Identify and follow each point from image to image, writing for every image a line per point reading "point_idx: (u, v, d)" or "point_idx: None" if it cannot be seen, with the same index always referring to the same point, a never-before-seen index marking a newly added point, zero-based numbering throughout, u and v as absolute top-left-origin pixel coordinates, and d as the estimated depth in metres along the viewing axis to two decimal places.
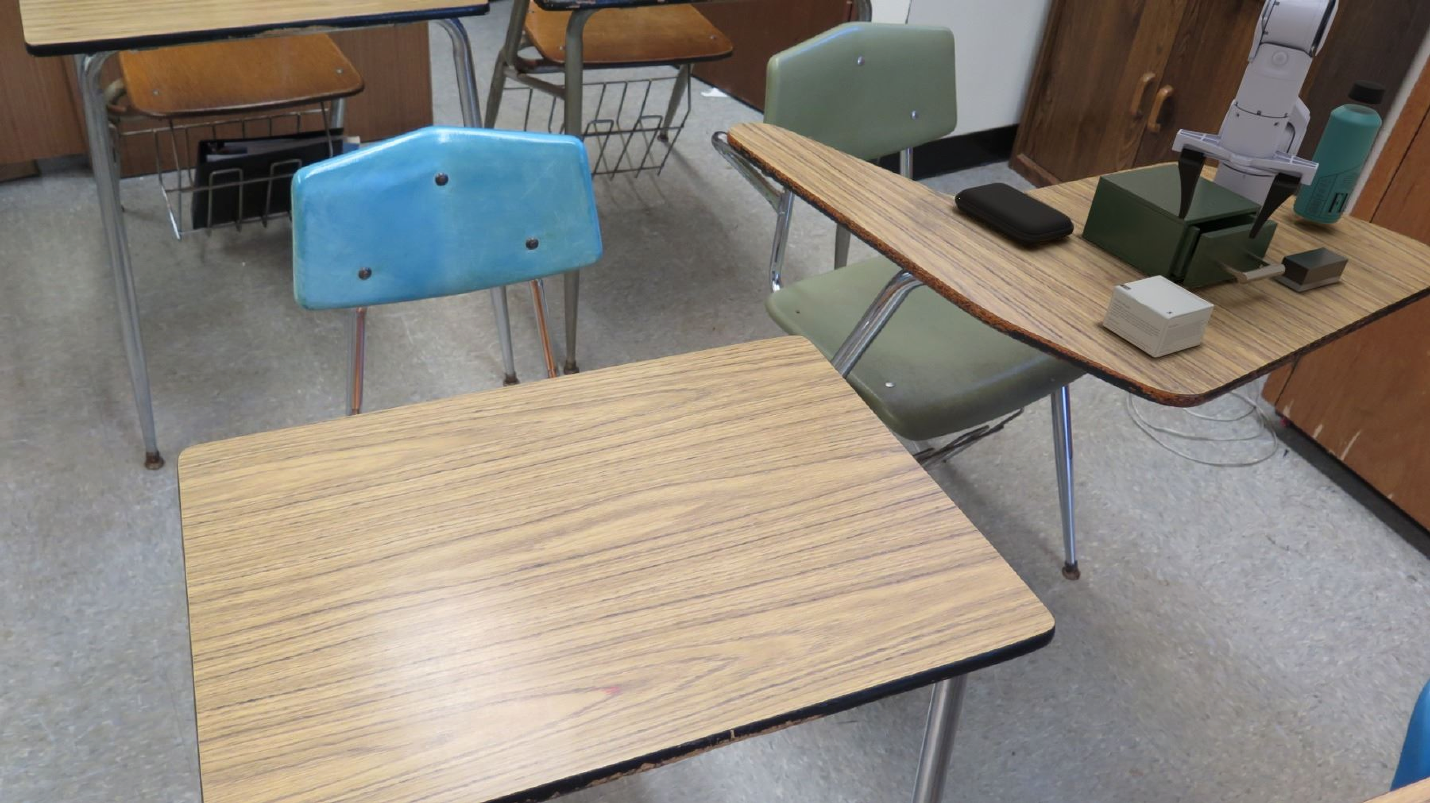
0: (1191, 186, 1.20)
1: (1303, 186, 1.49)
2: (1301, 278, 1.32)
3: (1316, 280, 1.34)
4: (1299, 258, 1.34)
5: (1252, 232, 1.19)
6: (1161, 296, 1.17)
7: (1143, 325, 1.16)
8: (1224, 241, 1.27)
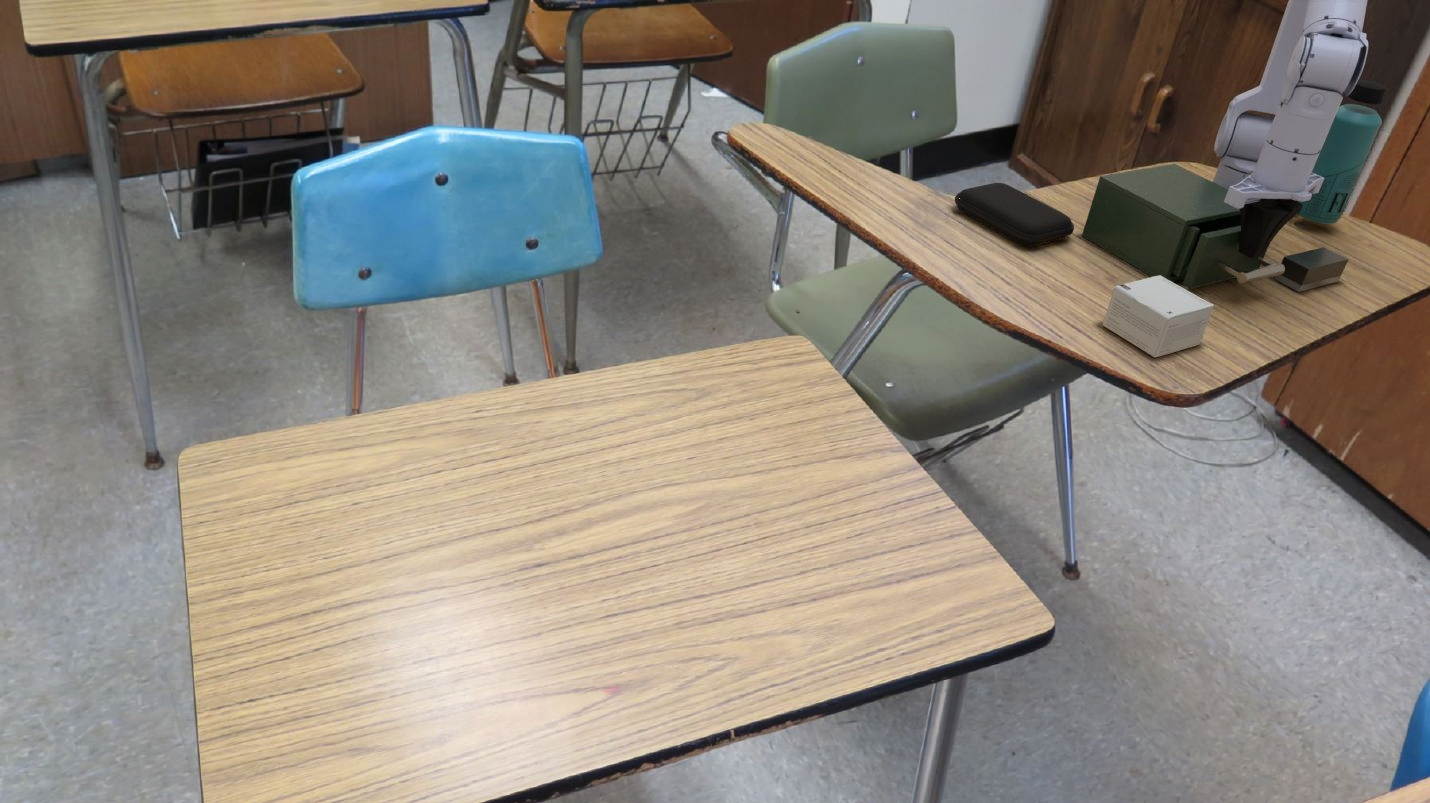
0: (1272, 229, 1.25)
1: None
2: (1301, 278, 1.32)
3: (1316, 280, 1.34)
4: (1299, 258, 1.34)
5: (1260, 252, 1.27)
6: (1161, 296, 1.17)
7: (1143, 325, 1.16)
8: (1224, 241, 1.27)
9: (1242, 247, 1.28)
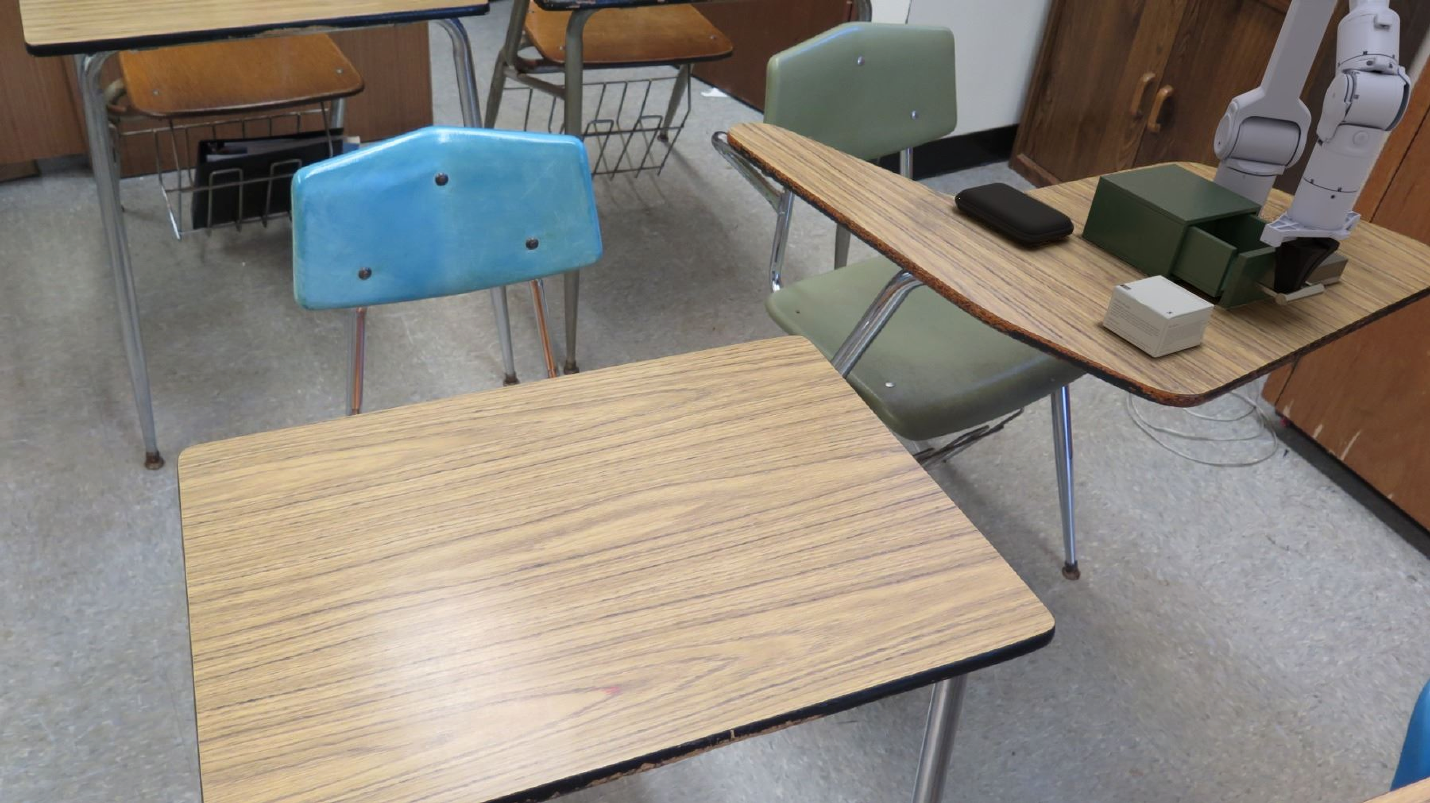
0: (1309, 267, 1.22)
1: None
2: None
3: (1316, 280, 1.34)
4: None
5: None
6: (1161, 296, 1.17)
7: (1143, 325, 1.16)
8: (1262, 261, 1.24)
9: (1277, 285, 1.25)
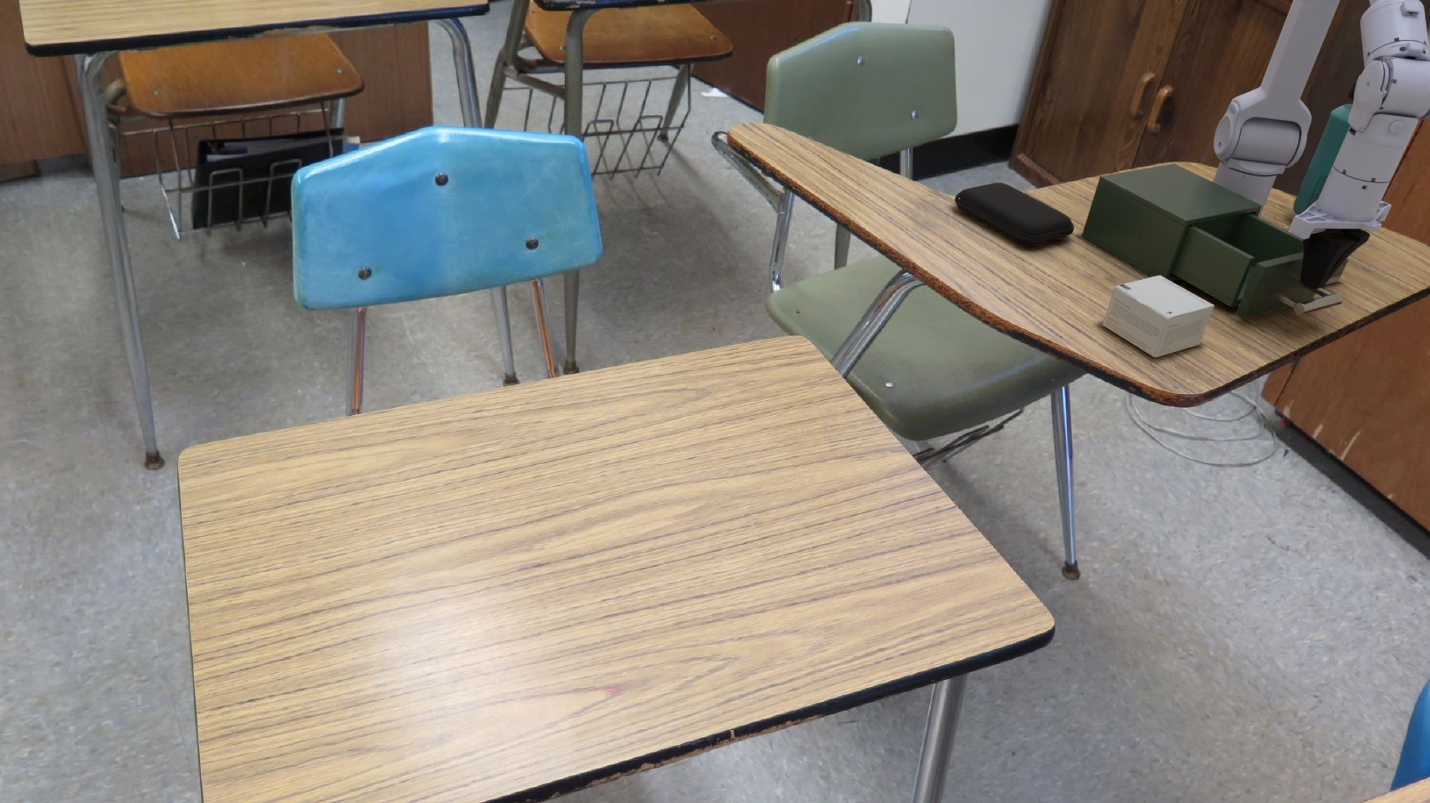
0: (1337, 259, 1.19)
1: (1303, 186, 1.49)
2: None
3: None
4: None
5: (1324, 283, 1.21)
6: (1161, 296, 1.17)
7: (1143, 325, 1.16)
8: (1280, 270, 1.22)
9: (1304, 277, 1.22)
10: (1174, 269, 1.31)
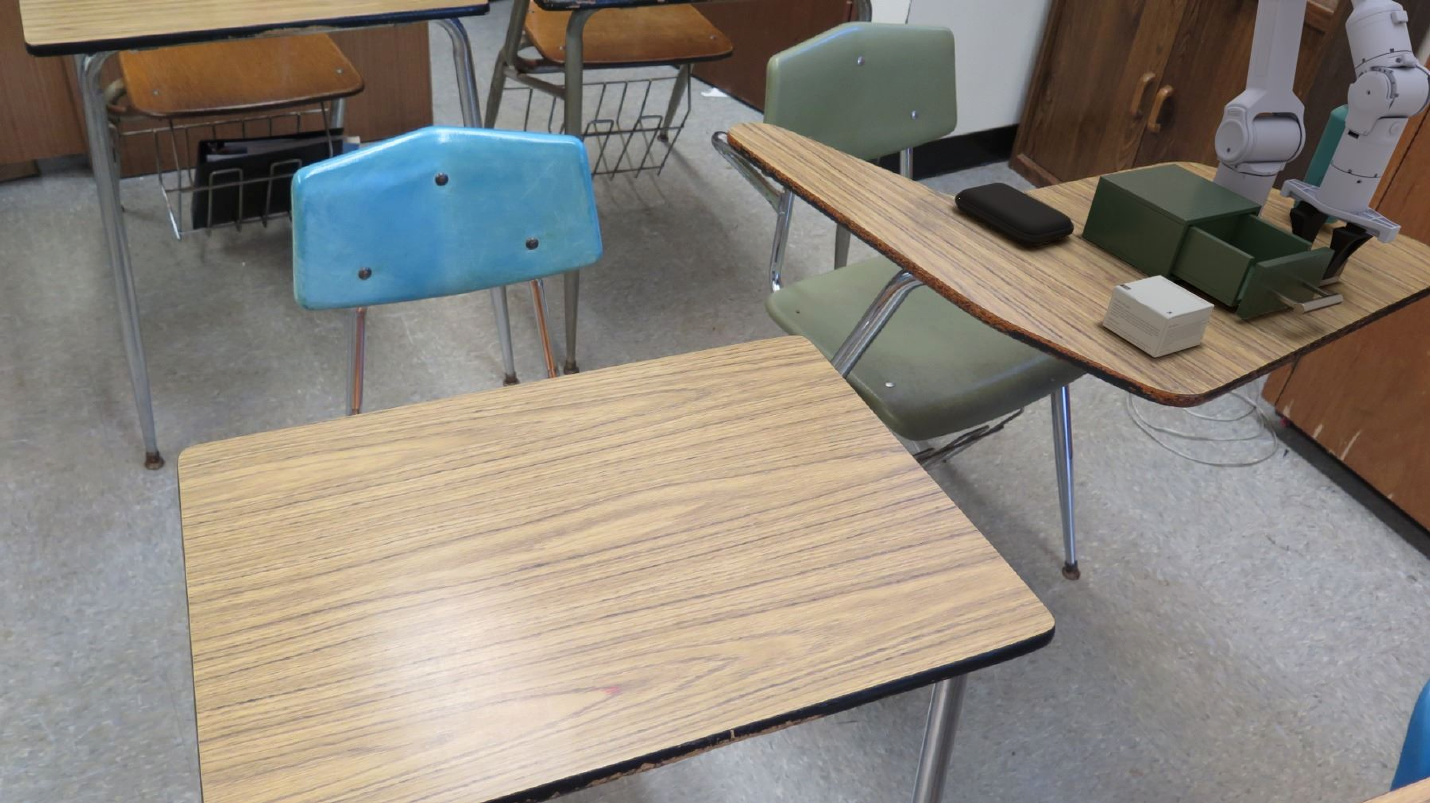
0: None
1: None
2: None
3: None
4: None
5: None
6: (1161, 296, 1.17)
7: (1143, 325, 1.16)
8: (1280, 270, 1.22)
9: (1327, 274, 1.33)
10: (1174, 269, 1.31)
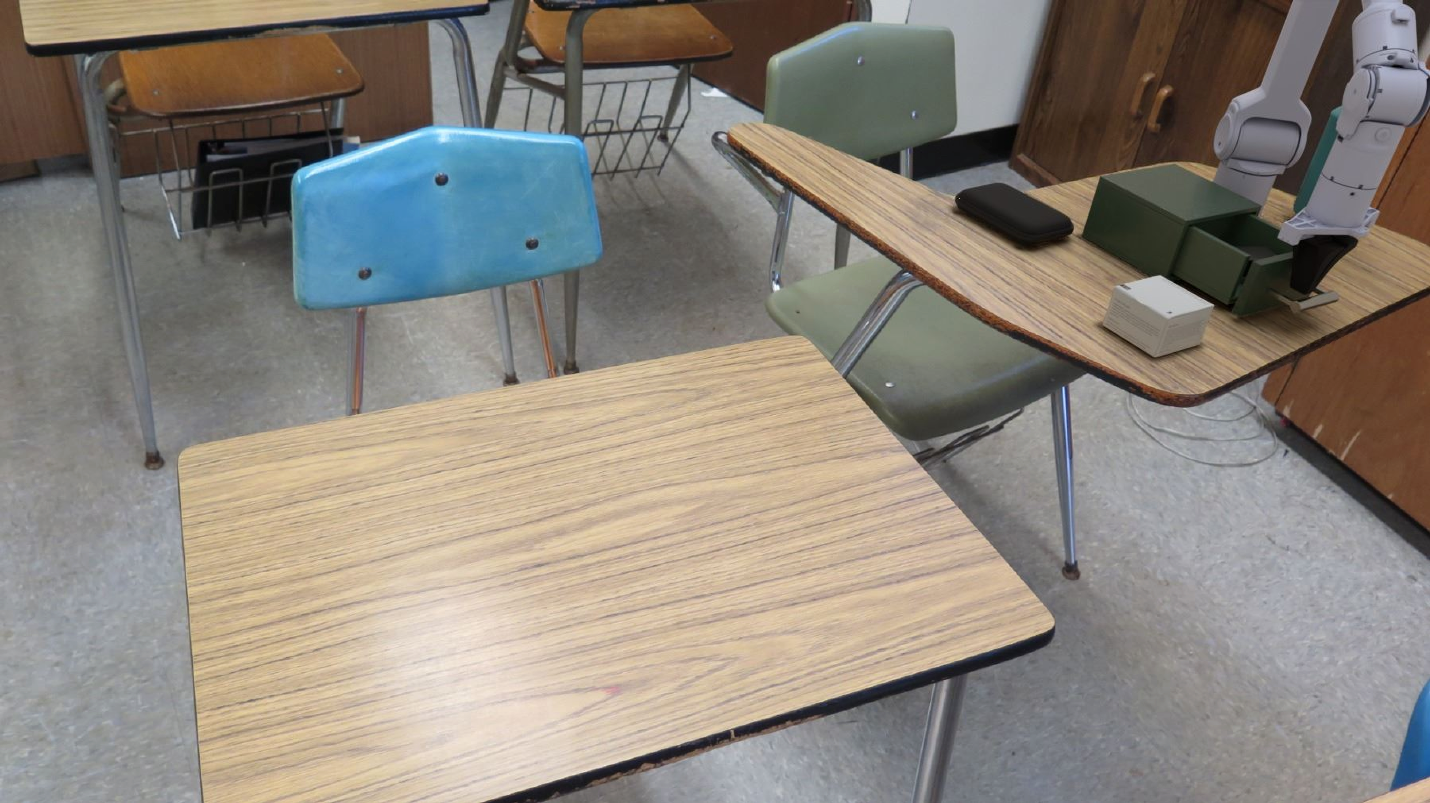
0: (1326, 264, 1.20)
1: (1303, 186, 1.49)
2: None
3: None
4: None
5: (1313, 288, 1.23)
6: (1161, 296, 1.17)
7: (1143, 325, 1.16)
8: (1276, 268, 1.22)
9: (1293, 283, 1.23)
10: None
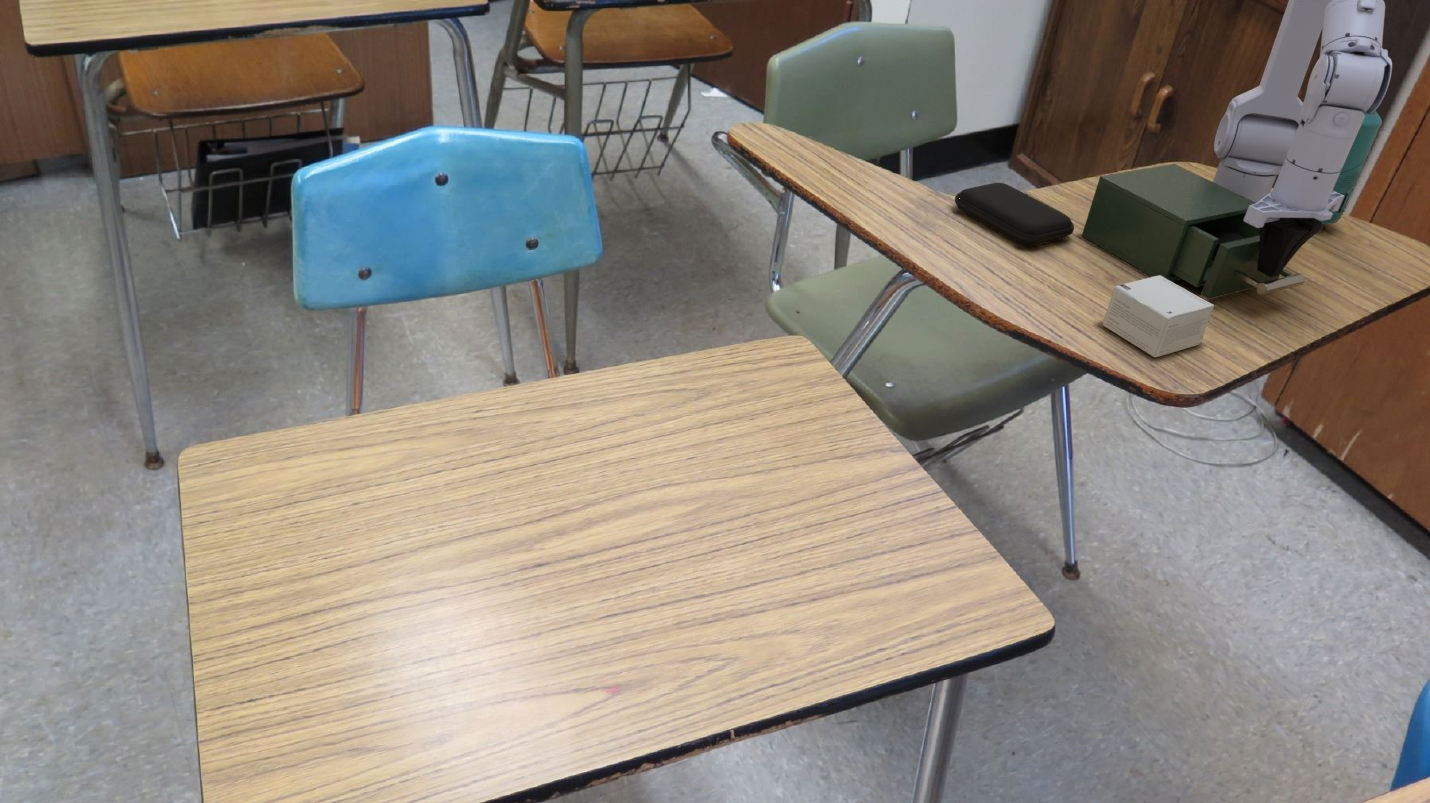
0: (1292, 247, 1.23)
1: None
2: None
3: None
4: None
5: (1279, 271, 1.26)
6: (1161, 296, 1.17)
7: (1143, 325, 1.16)
8: (1243, 251, 1.25)
9: (1261, 265, 1.27)
10: None
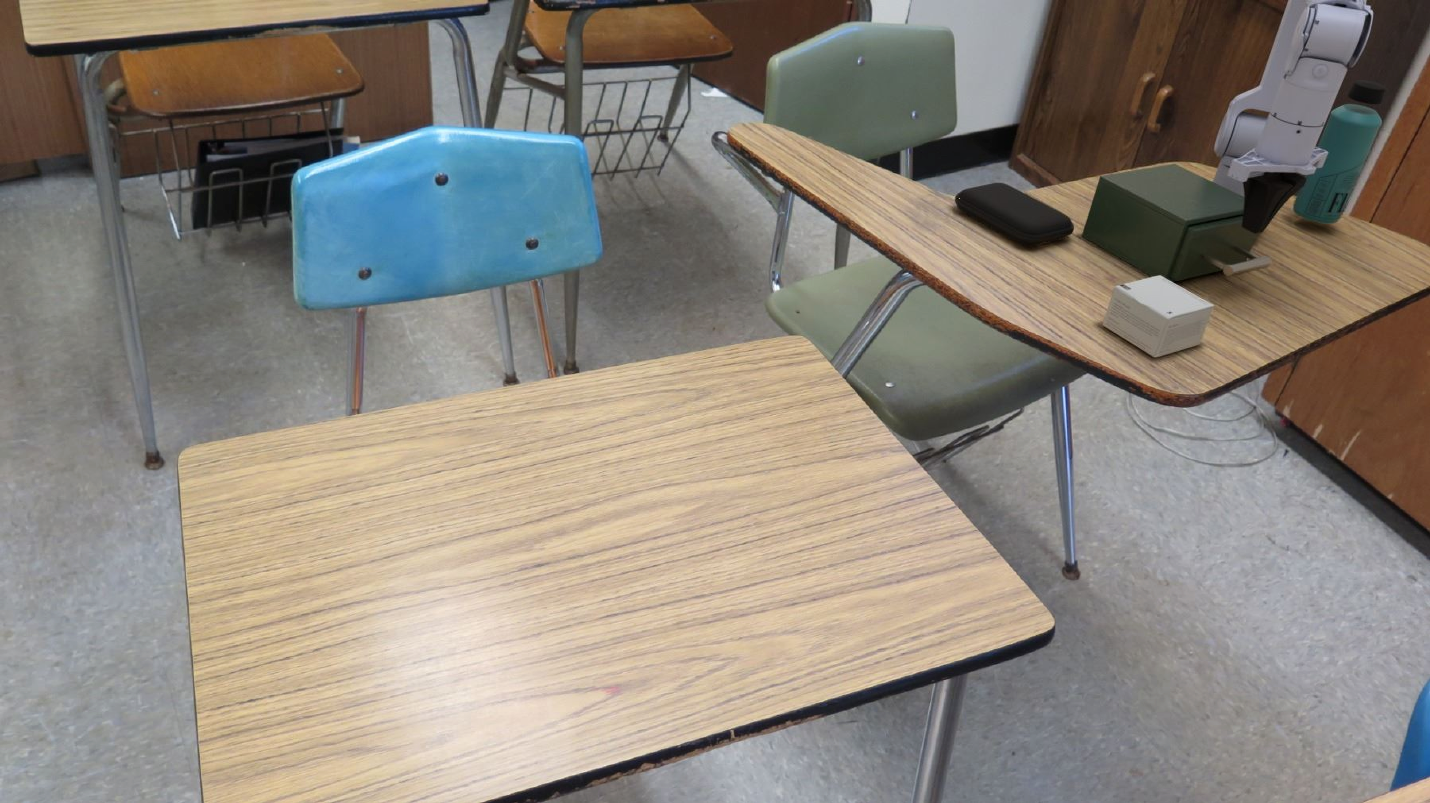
0: (1276, 203, 1.24)
1: None
2: None
3: None
4: None
5: (1264, 227, 1.26)
6: (1161, 296, 1.17)
7: (1143, 325, 1.16)
8: (1211, 234, 1.29)
9: (1245, 222, 1.27)
10: None
